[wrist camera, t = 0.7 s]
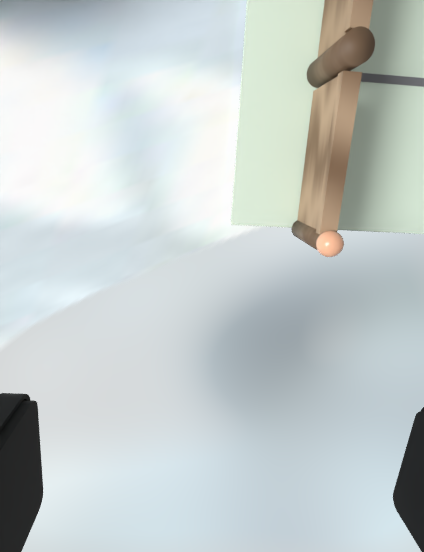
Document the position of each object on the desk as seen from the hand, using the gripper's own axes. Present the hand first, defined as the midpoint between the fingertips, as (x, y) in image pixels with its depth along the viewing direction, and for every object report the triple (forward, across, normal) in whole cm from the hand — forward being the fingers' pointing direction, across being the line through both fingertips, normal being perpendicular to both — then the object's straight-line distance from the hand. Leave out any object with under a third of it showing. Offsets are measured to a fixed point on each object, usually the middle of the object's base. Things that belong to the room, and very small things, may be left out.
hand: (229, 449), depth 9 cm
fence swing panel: (+23, -8, -7) cm, 26 cm away
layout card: (+24, -12, -14) cm, 30 cm away
